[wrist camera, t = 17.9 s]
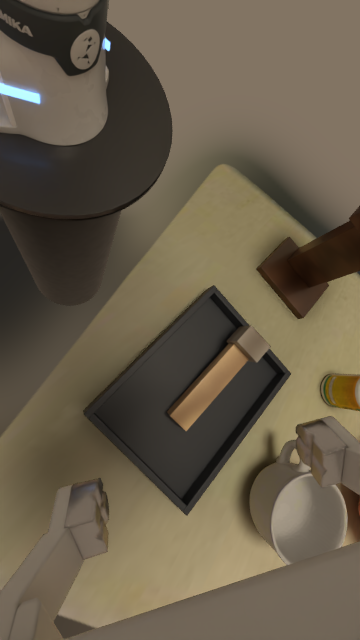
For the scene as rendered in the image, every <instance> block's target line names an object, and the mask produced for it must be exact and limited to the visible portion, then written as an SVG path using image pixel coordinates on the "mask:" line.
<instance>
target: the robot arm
mask: <svg viewBox="0 0 360 640" xmlns="http://www.w3.org/2000/svg"><path fill="white" fill-rule="evenodd" d="M108 6H109V0H0V132H1V133H8V134H21V135H24V136H27V137H30V138H32V139H35V140H37V141H40V142H43V143H47V144H52V145H59V146H70V145H77V144H81V143H84V142H87V141H89V140H91V139H92V138H94V137H95V136H96V135H98V134H99V133H100V131H101V130H102V129H103V127H104V125H105V123H106V120H107V116H108V104H107V96H106V88H107V85H108V82H109V70H108V68H107V66H106V54H105V48H106V49H107V50H108V51H109V50H110V42H109V41H108V40H107V39H106V38H105V31H106V22H107V9H108ZM296 433H297V434H298V438H297V439H296V449H297V453H298V455H299V457H300V459H301V460H302V462H303V463H304V464H305V465H307V466H309V467H311V474H312V476H313V477H314V478H315V480H316V481H317V482H318V484H319V485H320V487H321V488H323V487H327V486H330V485H334V484H338V483H342V484H343V485H344V486H346V487H347V488H349V489H351V490H352V491H354V492H355V493H357V494H358V495H360V442H359V441H358V440H357V439H356V438H355V437H353V436H352V435H351V434H350V433H349V432H348V431H347V430H346V429H345V428H344V427H343V426H342V425H341V424H340V423H339V422H338V421H337V420H336V419H335V418H334V417H332V416H328V417H325V418H321V419H317V420H313V421H310V422H306V423H303V424H299V425H297V427H296ZM102 489H103V484H102V481H101V478H98V479H93V480H89V481H85V482H81V483H77V484H73V485H69V486H65V487H61V488H59V489H58V491H57V494H56V498H55V503H54V507H53V512H52V516H51V521H50V525H49V529H48V533H46V534H43V536H42V537H41V538H40V540H39V541H38V542H37V544H36V545H35V546H34V548H33V549H32V550H31V552H30V553H29V554H28V556H27V557H26V558H25V560H24V561H23V562H22V564H21V565H20V566H19V568H18V569H17V570H16V572H15V573H14V574H13V576H12V577H11V578H10V580H9V581H8V582H7V584H6V585H5V586H4V588H3V589H2V590H1V592H0V640H360V541H359V542H356V543H353V544H350V545H347V546H344V547H341V548H338V549H335V550H332V551H329V552H326V553H323V554H320V555H317V556H314V557H311V558H308V559H304V560H301V561H298V562H295V563H292V564H289V565H286V566H283V567H280V568H277V569H274V570H271V571H268V572H265V573H262V574H259V575H256V576H253V577H250V578H247V579H244V580H241V581H238V582H235V583H232V584H229V585H226V586H223V587H220V588H217V589H214V590H211V591H208V592H205V593H202V594H199V595H196V596H193V597H190V598H187V599H184V600H181V601H178V602H175V603H172V604H169V605H166V606H163V607H160V608H157V609H154V610H151V611H148V612H145V613H142V614H139V615H136V616H133V617H130V618H127V619H124V620H121V621H118V622H115V623H112V624H109V625H105V626H102V627H99V628H96V629H93V630H90V631H88V632H84V633H82V634H78V635H75V636H73V637H69V638H66V639H63V637H62V636H61V634H60V632H59V631H58V629H57V628H56V626H55V624H54V623H53V622H54V620H55V618H56V616H57V614H58V612H59V610H60V608H61V606H62V604H63V602H64V600H65V598H66V596H67V594H68V592H69V590H70V588H71V586H72V584H73V582H74V580H75V578H76V576H77V574H78V572H79V570H80V568H81V566H82V564H83V562H84V561H83V560H85V559H88V558H91V557H94V556H97V555H100V554H103V553H106V552H108V530H107V527H106V524H107V522H108V520H109V505H108V499H107V495H106V492H104V491H102Z"/></svg>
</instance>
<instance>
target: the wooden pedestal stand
mask: <svg viewBox="0 0 360 640" xmlns="http://www.w3.org/2000/svg"><path fill="white" fill-rule="evenodd" d="M349 219H350V221H349V222H347V223H345V224H343V225H341V226H339V227H337V228H336V229H334V230H332V231H330V232H328V233H326V234H324V235H322V236H321V237H319V238H317V239H315V240H313V241H311V242H309V243H308V244H306V245H304V246H302V247H300V248H298V246H297V245H296V244H295V243H294V241H293V240H292V239H291V238H290V237H288V238H286V239H285V240H284V241H283V242H282V243H281V244H280V245H279V246H278V247H277V248H276V249H275V250H274V251H273V252H272V253H271V254H270V255H269V257H268V258H267V259H266V260H265V261H264V262H263V263H262V264H261V265H260V266H259V267H258V268H257V270H258V272H259V273H260V274H261V275H262V276H263V278H264V279H265V280H266V281H267V282H268V284H269V285H270V286H271V287H272V288H273V289H274V291H275V292H276V293H277V294H278V295H279V297H280V298H281V299H282V300H283V301H284V303H285V304H286V305H287V306H288V307H289V308H290V310H291V311H292V312H293V313H294V314H295V316H296V317H297V318H298V319H301V318H304V317H305V315H306V314H307V313H308V311H309V310H310V309H311V308H312V306H313V305H314V304H315V303H316V301H317V300H318V299H319V298H320V296H321V295H322V294H323V292H324V291H325V290H326V289H327V287H328V286H329V285H328V283H327V282H328V281H331V280H334V279H337V278H340V277H343V276H346V275H349V274H352V273H354V272H357V271H360V206H359V207H358V209H357V210H356V211H355V212H354V213H353V214H352V215H351V217H350V218H349Z"/></svg>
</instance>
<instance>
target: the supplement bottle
mask: <svg viewBox="0 0 360 640" xmlns="http://www.w3.org/2000/svg"><path fill="white" fill-rule="evenodd" d="M321 393H322V397H323V399H324V400H325V402H326V403H327V404H329V405H330V406H332V407H338V408H344V409H350V410H356V411H360V375H353V374H330V375H328V376H326V377H325V379H324V380H323V382H322V385H321Z"/></svg>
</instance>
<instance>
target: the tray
mask: <svg viewBox="0 0 360 640" xmlns="http://www.w3.org/2000/svg"><path fill="white" fill-rule="evenodd" d="M240 326H249V325H248V323H247V322H246V321H245V320H244V319H243V318H242V317H241V315H240V314H239V313H238V312H237V311H236V310H235V309H234V307H233V306H232V305H231V304H230V303H229V302H228V301H227V299H226V298H225V297H224V296H223V295H222V294H221V293H220V291H219V290H217V288H216V287H215V286H214V285H213V286H212V287H210V288H208V289H207V290H206V291H205V292H204V293H203V294H202V295H201V296H200V297H199V298H198V299H197V300H196V301H195V302H194V303H192V304H191V305H190V306H189V307H188V308H187V309H186V310H185V311H184V312H183V313H182V314H181V315H180V316H179V317H178V318H177V319H176V320H175V321H174V322H173V323H172V324H171V325H170V326H169V327H168V328H167V329H166V330H165V331H164V332H163V333H162V334H161V335H160V336H159V337H158V338H157V339H156V340H155V341H154V342H153V343H152V344H151V345H150V346H149V347H148V348H147V349H146V350H145V351H144V352H143V353H142V354H141V355H140V356H139V357H138V358H137V359H135V360H134V361H133V362H132V363H131V364H130V365H129V366H128V367H127V368H126V369H125V370H124V371H123V372H122V373H121V374H120V375H119V376H118V377H117V378H116V379H115V380H114V381H113V382H112V383H111V384H110V385H109V386H108V387H107V388H106V389H105V390H104V391H103V392H102V393H101V394H100V395H99V396H98V397H97V398H96V399H95V400H94V401H93V402H92V403H91V404H90V405H89V406H88V407H87V408H86V409H85V410H84V411H83V412H84V415H85V416H86V417H87V418H88V419H89V420H90V421H91V422H92V423H93V424H94V425H95V426H96V427H97V428H98V429H99V430H100V431H101V432H102V433H103V434H104V435H105V436H106V437H107V438H108V439H109V440H110V441H111V442H112V443H113V444H114V445H115V446H116V447H117V448H118V449H119V450H120V451H121V452H122V453H124V454H125V455H126V456H127V457H128V458H129V459H130V460H131V461H132V462H133V463H134V464H135V465H136V466H137V467H138V468H139V469H140V470H141V471H142V472H143V473H144V474H145V475H146V476H147V477H148V478H149V479H150V480H151V481H152V482H153V483H154V484H155V485H156V486H157V487H158V488H159V489H160V490H161V491H162V492H163V493H164V494H165V495H166V496H167V497H168V498H169V499H170V500H171V501H172V502H173V503H174V504H175V505H176V506H177V507H178V508H179V509H180V510H181V511H183V513H184V514H185V515H188V514H189V512H190V511H191V510H192V508H193V507H194V506H195V504H196V503H197V502H198V500H199V499H200V497H201V496H202V495H203V493H204V492H205V491H206V489H207V488H208V487H209V485H210V484H211V482H212V481H213V480H214V478H215V477H216V476H217V474H218V473H219V472H220V470H221V469H222V467H223V466H224V465H225V463H226V462H227V461H228V459H229V458H230V457H231V455H232V454H233V452H234V451H235V450H236V448H237V447H238V446H239V444H240V443H241V442H242V440H243V439H244V437H245V436H246V435H247V433H248V432H249V431H250V429H251V428H252V427H253V425H254V424H255V423H256V421H257V420H258V418H259V417H260V416H261V414H262V413H263V412H264V410H265V409H266V408H267V406H268V405H269V403H270V402H271V401H272V399H273V398H274V397H275V395H276V394H277V393H278V391H279V390H280V388H281V387H282V386H283V384H284V383H285V382H286V380H287V379H288V378H289V376H290V375H291V373H290V372H289V371H288V369H287V368H286V367H285V366H284V365H283V364H282V362H281V361H280V360H279V359H278V358H277V357H276V356H275V354H274V353H273V352H272V351H271V350H270V349H268V350H267V352H266V353H265V354H264V355H263V356H262V357H261V359H260V360H259V361H258V362H257V363H256V362H249V361H247V362H246V363H245V364H244V366H243V367H242V368H241V369H240V370H239V371H238V373H237V374H236V375H235V376H234V377H233V378H232V379H231V381H230V382H229V383H228V384H227V385H226V386H225V387H224V389H223V390H222V391H221V392H220V393H219V394H218V396H217V397H216V398H215V399H214V400H213V401H212V402H211V404H210V405H209V406H208V407H207V408H206V409H205V410H204V412H203V413H202V414H201V415H200V416H199V417H198V418H197V420H196V421H195V422H194V423H193V424H192V425H191V427H190V428H189V429H188V430H187V431H185V430H184V429H183V428H182V427H181V426H180V425H179V424H178V423H177V422H176V421H175V420H174V419H173V418H172V417H171V416H170V415H169V414H168V413H167V411H168V410H169V409H170V408H171V407H172V406H173V404H174V403H175V402H176V401H177V400H178V399H179V398H180V397H181V396H182V395H183V393H184V392H185V391H186V390H187V389H188V388H189V387H190V386H191V385H192V383H193V382H194V381H195V380H196V379H197V378H198V377H199V376H200V375H201V374H202V372H203V371H204V370H205V369H206V368H207V367H208V366H209V365H210V364H211V363H212V361H213V360H214V359H215V358H216V357H217V356H218V355H219V354H220V353H221V352H222V350H223V349H224V348H225V347H226V346H227V345H228V343H227V340H228V339H229V338H230V337H231V335H232V334H233V333H234V332H235V331H236V330H237V329H238V328H239V327H240Z"/></svg>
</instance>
